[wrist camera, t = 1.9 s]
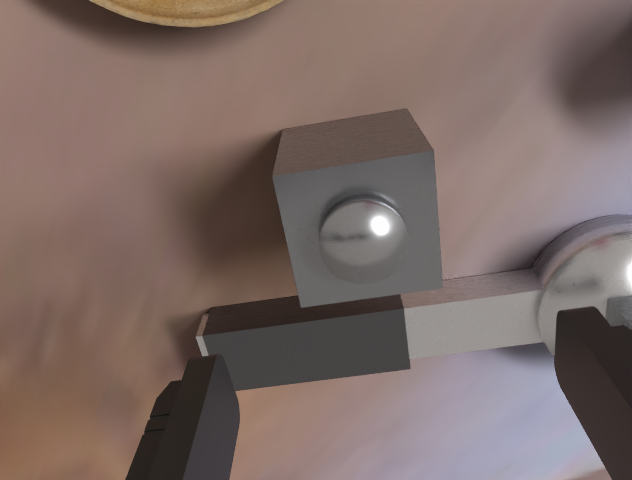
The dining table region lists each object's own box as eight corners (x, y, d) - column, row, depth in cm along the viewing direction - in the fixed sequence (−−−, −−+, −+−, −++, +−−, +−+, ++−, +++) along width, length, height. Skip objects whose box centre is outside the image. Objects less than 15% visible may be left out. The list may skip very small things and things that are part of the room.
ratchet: (228, 390, 31) (209, 479, 25) (191, 276, 27) (159, 351, 22) (670, 335, 29) (751, 418, 23) (694, 203, 25) (796, 266, 20)
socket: (304, 238, 26) (300, 319, 20) (282, 129, 23) (270, 184, 17) (417, 221, 25) (447, 299, 19) (407, 108, 23) (438, 157, 17)
